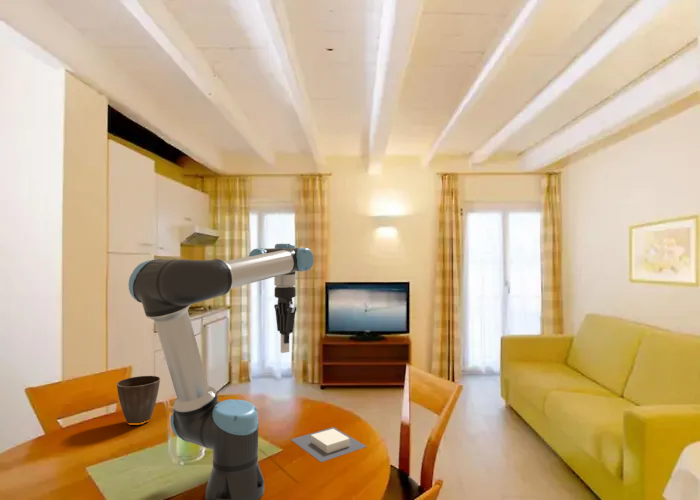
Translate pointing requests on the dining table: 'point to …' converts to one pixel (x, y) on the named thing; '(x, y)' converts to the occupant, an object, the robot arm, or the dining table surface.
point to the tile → (330, 440)
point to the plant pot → (138, 397)
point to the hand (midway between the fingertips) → (285, 352)
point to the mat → (320, 454)
